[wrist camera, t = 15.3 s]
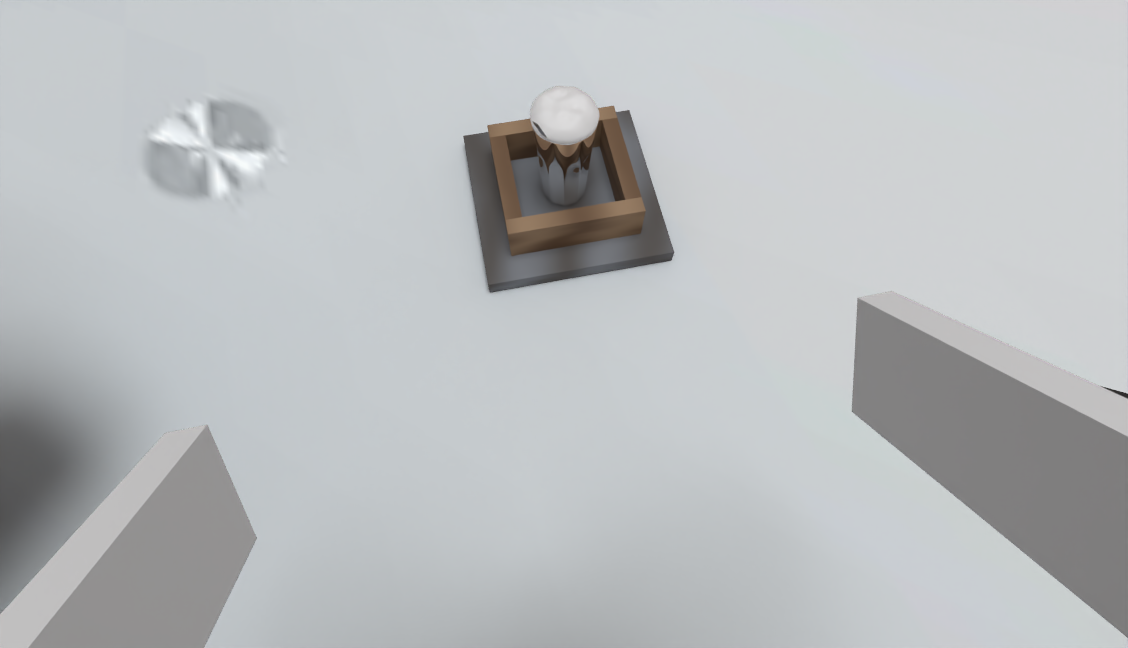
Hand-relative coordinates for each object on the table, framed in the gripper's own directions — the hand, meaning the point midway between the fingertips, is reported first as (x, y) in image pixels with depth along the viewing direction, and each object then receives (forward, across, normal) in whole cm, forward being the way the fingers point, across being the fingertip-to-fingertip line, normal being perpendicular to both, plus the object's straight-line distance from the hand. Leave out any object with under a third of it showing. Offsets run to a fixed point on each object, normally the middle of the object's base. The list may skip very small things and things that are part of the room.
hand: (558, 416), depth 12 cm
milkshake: (+36, +5, -2) cm, 36 cm away
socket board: (+36, +5, -2) cm, 37 cm away
